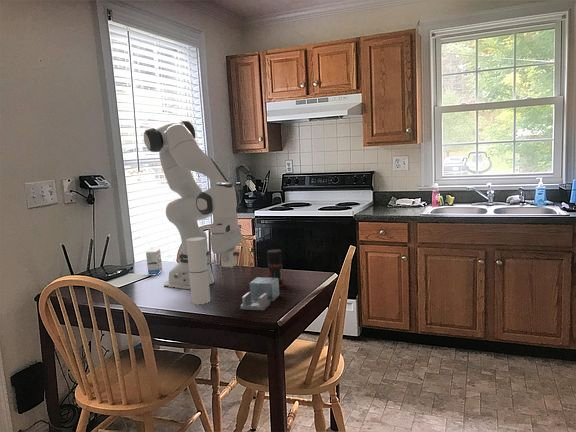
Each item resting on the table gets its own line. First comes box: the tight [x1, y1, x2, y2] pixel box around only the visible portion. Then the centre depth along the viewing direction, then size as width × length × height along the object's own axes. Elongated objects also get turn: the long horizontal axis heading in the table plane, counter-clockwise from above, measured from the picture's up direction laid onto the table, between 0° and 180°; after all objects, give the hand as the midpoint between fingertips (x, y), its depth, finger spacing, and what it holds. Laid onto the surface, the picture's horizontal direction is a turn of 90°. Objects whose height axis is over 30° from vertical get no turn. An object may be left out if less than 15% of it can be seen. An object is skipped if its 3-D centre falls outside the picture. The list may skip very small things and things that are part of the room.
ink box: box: [145, 248, 163, 275], centre depth 235 cm, size 9×5×12 cm, turn 179°
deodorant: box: [266, 248, 284, 288], centre depth 200 cm, size 6×6×15 cm
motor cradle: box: [240, 276, 280, 311], centre depth 181 cm, size 20×9×7 cm, turn 162°
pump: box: [220, 248, 240, 268], centre depth 182 cm, size 4×6×6 cm
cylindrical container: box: [186, 237, 211, 306], centre depth 183 cm, size 7×7×25 cm
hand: (228, 260), depth 182 cm, fingers closed on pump, 4 cm apart
